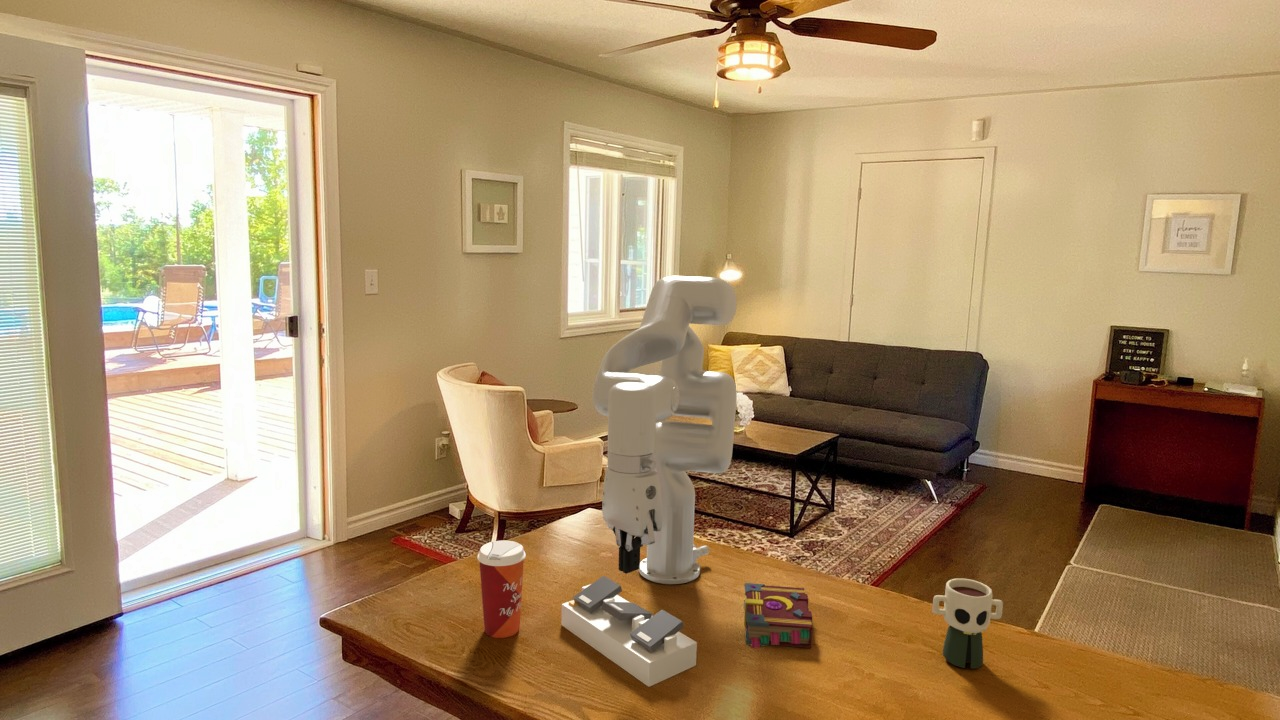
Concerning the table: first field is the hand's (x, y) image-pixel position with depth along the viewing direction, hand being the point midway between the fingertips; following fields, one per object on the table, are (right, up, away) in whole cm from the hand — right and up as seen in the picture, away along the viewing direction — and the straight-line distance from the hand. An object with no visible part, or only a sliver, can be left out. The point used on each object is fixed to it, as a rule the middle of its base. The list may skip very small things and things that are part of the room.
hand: (629, 569), depth 127 cm
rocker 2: (+5, -10, -1) cm, 11 cm away
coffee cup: (-22, -13, +10) cm, 28 cm away
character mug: (+55, -16, +3) cm, 57 cm away
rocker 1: (-6, -7, +11) cm, 14 cm away
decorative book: (+26, -14, +13) cm, 32 cm away
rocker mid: (-1, -9, +5) cm, 10 cm away
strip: (-2, -14, +7) cm, 16 cm away
